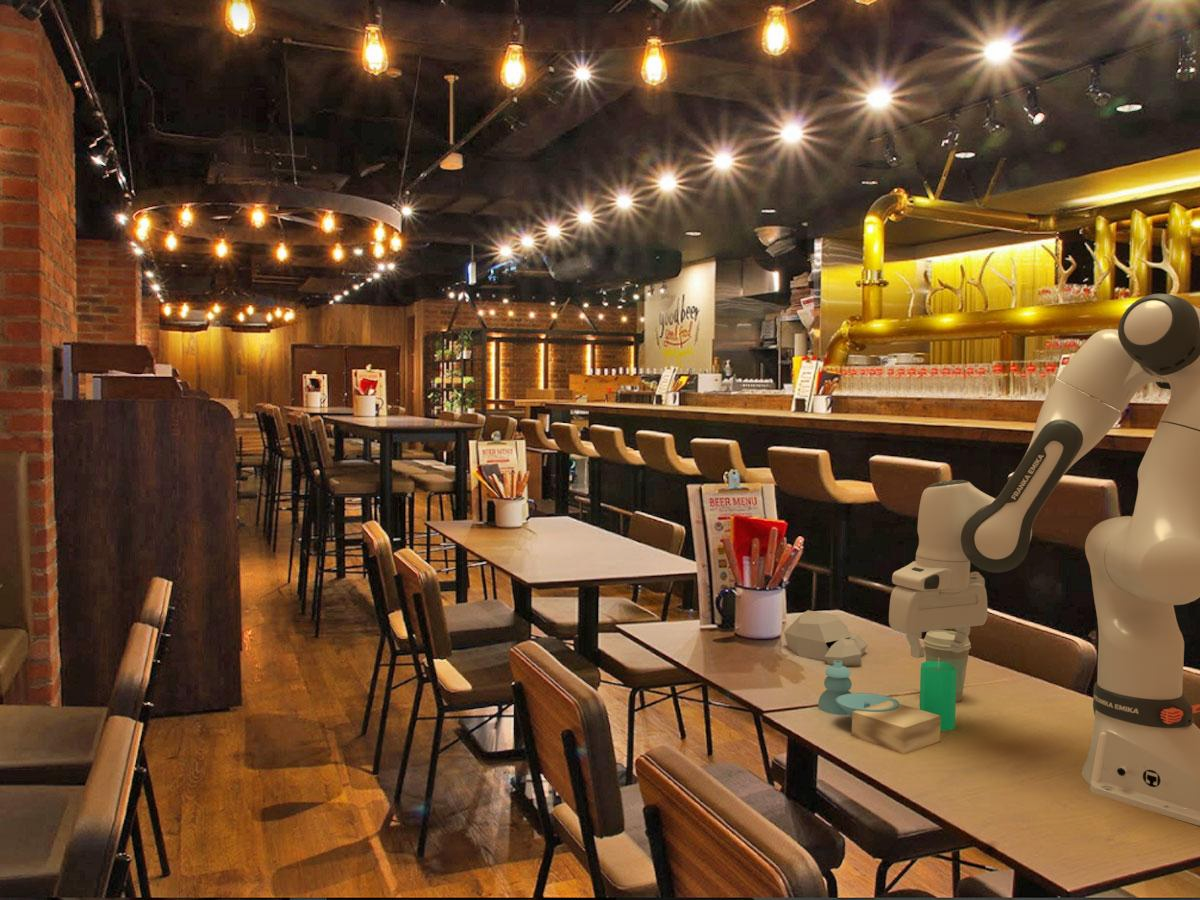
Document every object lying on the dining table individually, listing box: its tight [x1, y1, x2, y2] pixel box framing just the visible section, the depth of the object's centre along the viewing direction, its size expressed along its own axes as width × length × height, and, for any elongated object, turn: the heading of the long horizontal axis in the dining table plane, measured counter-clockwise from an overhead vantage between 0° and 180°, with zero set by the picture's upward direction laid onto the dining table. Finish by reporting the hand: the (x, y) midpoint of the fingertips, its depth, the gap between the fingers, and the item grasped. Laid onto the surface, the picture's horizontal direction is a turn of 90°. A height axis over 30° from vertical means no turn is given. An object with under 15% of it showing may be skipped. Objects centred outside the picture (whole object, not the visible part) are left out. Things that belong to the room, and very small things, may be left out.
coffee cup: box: [922, 629, 972, 703], centre depth 187 cm, size 8×8×12 cm
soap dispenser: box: [817, 660, 900, 719], centre depth 173 cm, size 18×10×9 cm, turn 17°
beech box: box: [851, 701, 941, 754], centre depth 163 cm, size 10×10×5 cm
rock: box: [783, 609, 869, 667], centre depth 216 cm, size 18×20×10 cm
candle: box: [919, 658, 957, 732], centre depth 171 cm, size 6×6×12 cm
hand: (937, 654), depth 171 cm, fingers open, 8 cm apart
